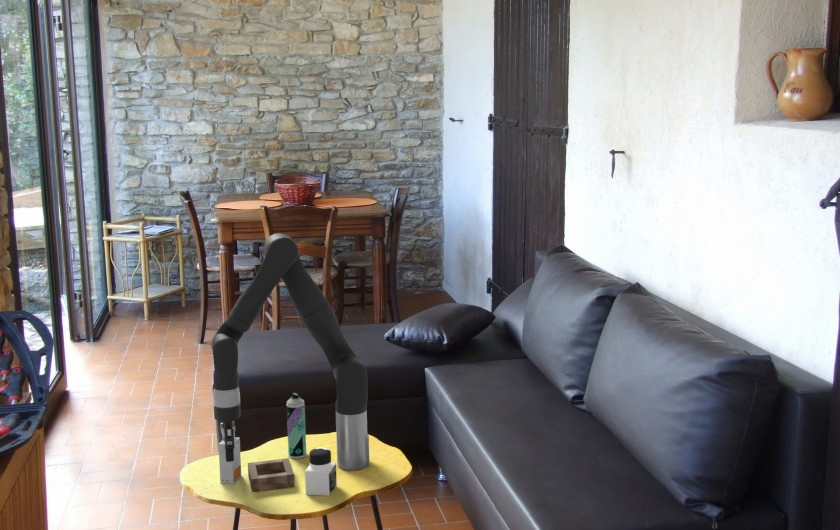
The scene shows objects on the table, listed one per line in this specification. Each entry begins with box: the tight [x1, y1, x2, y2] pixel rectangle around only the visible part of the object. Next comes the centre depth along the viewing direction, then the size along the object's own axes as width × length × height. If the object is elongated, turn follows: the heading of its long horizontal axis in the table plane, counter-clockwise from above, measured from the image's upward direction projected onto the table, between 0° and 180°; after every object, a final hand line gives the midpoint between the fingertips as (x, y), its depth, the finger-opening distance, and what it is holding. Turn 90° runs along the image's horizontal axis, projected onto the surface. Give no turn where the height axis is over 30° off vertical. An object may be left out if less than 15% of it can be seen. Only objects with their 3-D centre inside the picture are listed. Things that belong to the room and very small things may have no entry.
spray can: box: [286, 392, 307, 460], centre depth 274 cm, size 6×6×20 cm
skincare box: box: [218, 436, 242, 485], centre depth 258 cm, size 6×4×12 cm
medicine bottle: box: [304, 447, 338, 497], centre depth 250 cm, size 7×7×12 cm
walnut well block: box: [247, 457, 296, 493], centre depth 257 cm, size 12×12×4 cm
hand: (228, 455), depth 258 cm, fingers open, 8 cm apart
